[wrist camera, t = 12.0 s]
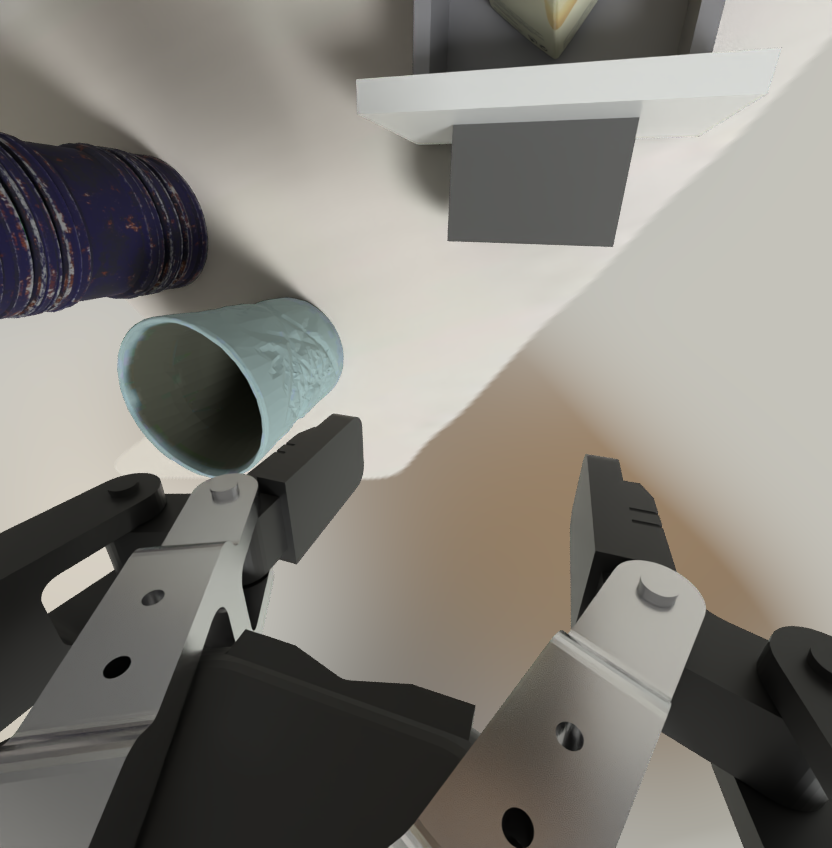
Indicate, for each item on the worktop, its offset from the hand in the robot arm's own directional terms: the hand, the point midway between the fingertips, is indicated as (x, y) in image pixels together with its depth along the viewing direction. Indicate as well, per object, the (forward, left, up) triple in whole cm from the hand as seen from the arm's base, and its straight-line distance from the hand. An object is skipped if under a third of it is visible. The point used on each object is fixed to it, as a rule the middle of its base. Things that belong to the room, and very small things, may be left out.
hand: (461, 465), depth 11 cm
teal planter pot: (-18, -4, -20) cm, 27 cm away
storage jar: (-30, +5, -20) cm, 36 cm away
